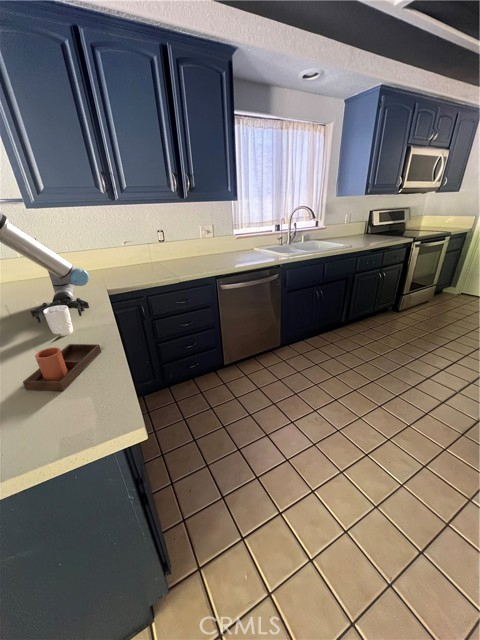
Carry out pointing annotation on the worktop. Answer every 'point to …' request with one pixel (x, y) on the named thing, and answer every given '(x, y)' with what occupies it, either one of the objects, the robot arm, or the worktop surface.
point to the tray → (75, 363)
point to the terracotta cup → (51, 364)
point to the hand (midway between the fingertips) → (59, 316)
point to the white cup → (59, 319)
